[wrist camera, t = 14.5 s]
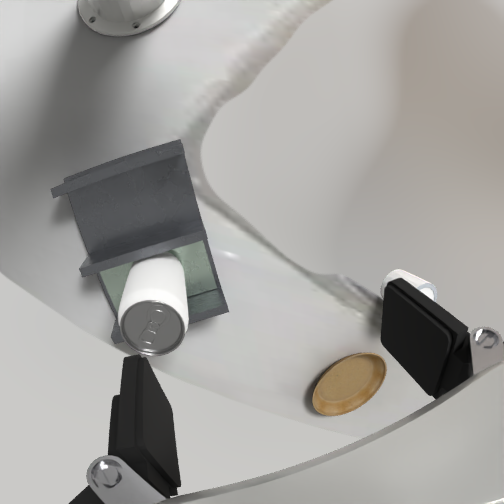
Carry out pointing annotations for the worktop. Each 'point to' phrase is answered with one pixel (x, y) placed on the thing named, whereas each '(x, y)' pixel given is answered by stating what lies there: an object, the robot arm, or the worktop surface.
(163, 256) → the can
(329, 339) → the worktop surface
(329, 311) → the worktop surface
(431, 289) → the white cup
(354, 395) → the plant saucer
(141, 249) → the grey ribbed shelf
